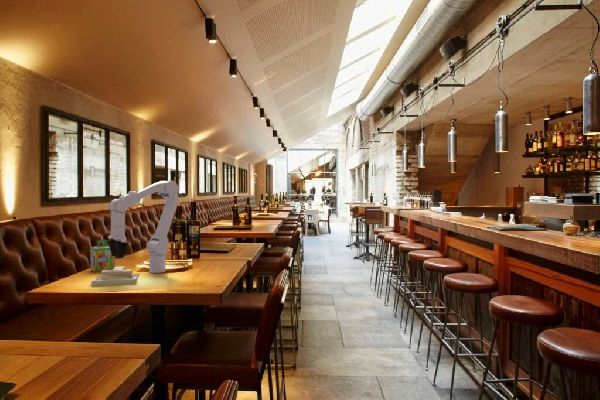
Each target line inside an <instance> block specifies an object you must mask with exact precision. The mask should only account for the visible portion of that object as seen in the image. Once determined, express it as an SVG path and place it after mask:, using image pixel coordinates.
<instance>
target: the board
mask: <svg viewBox="0 0 600 400" xmlns="http://www.w3.org/2000/svg"><path fill="white" fill-rule="evenodd" d="M140 276H141V273H132V279H134V277H137V281H139V277H140ZM94 279H96V280H101V275H97V276H96V277H95V278H94ZM123 285H125V284H122V285H121V286H123ZM103 286H106V285H103ZM89 287H93V286H92V282H91V283H90V284H89Z"/></svg>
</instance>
